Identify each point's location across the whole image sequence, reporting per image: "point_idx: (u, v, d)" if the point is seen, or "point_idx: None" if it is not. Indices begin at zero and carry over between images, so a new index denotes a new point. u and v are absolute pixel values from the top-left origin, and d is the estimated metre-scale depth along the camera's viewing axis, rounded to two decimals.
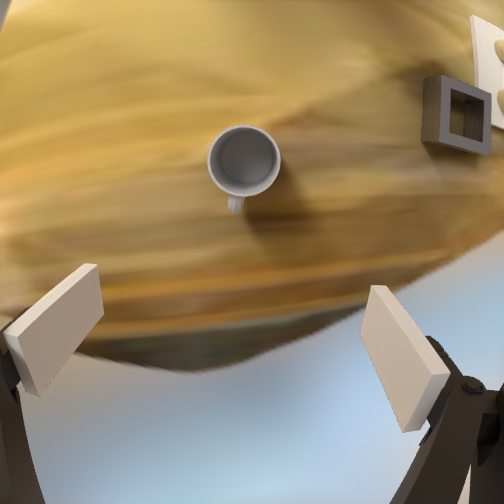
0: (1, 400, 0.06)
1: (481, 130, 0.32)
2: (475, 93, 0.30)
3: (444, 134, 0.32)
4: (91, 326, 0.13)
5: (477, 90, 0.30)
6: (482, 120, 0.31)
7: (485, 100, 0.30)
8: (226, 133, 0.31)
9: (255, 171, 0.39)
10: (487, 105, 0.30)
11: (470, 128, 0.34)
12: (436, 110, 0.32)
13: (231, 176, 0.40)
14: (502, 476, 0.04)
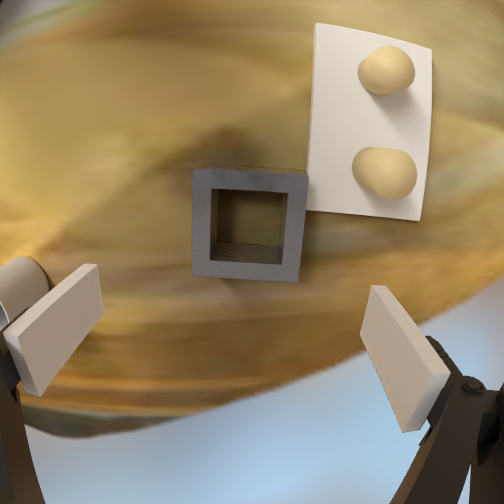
0: (1, 400, 0.06)
1: (283, 243, 0.26)
2: (267, 184, 0.24)
3: (201, 264, 0.27)
4: (91, 326, 0.13)
5: (272, 177, 0.24)
6: (284, 226, 0.26)
7: (291, 191, 0.25)
8: None
9: None
10: (295, 200, 0.25)
11: (281, 231, 0.29)
12: None
13: None
14: (502, 476, 0.04)
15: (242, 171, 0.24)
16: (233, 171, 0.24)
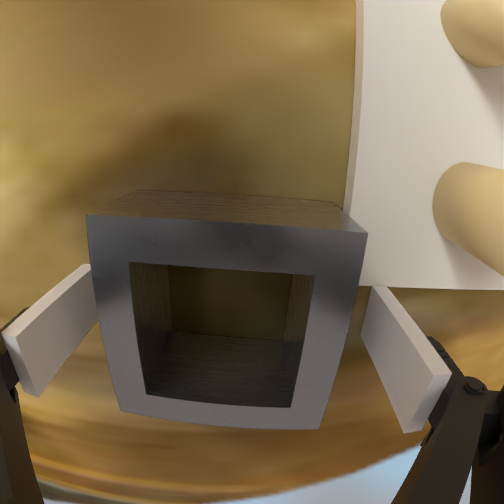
0: (0, 400, 0.06)
1: (296, 370, 0.12)
2: (264, 255, 0.10)
3: (132, 398, 0.12)
4: (90, 326, 0.13)
5: (278, 238, 0.10)
6: (301, 342, 0.11)
7: (324, 272, 0.10)
8: None
9: None
10: (330, 291, 0.10)
11: (290, 327, 0.14)
12: None
13: None
14: (503, 476, 0.04)
15: (199, 221, 0.10)
16: (177, 221, 0.09)
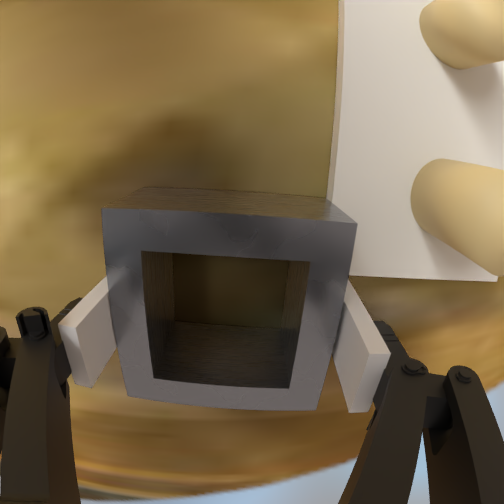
0: (49, 397, 0.06)
1: (294, 352, 0.13)
2: (264, 243, 0.11)
3: (139, 382, 0.13)
4: None
5: (277, 228, 0.11)
6: (298, 325, 0.12)
7: (318, 259, 0.11)
8: None
9: None
10: (323, 276, 0.11)
11: (287, 314, 0.15)
12: None
13: None
14: (460, 466, 0.05)
15: (207, 213, 0.11)
16: (186, 213, 0.11)
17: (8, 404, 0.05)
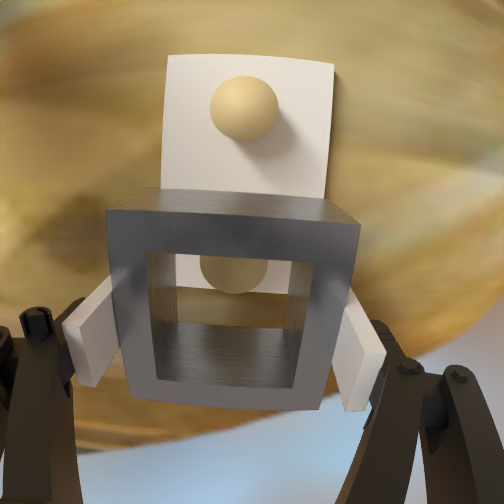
0: (52, 397, 0.06)
1: (297, 352, 0.13)
2: (269, 244, 0.11)
3: (143, 383, 0.13)
4: None
5: (281, 229, 0.11)
6: (302, 325, 0.12)
7: (322, 260, 0.11)
8: None
9: None
10: (327, 276, 0.11)
11: (290, 315, 0.16)
12: None
13: None
14: (457, 465, 0.05)
15: (212, 214, 0.11)
16: (191, 215, 0.11)
17: (11, 404, 0.05)
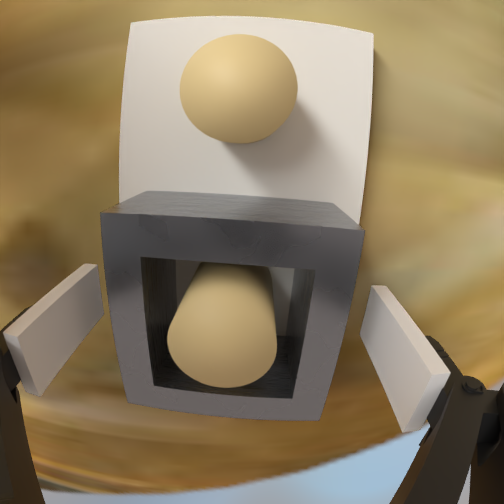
0: (1, 400, 0.06)
1: (298, 362, 0.12)
2: (267, 251, 0.10)
3: (139, 389, 0.13)
4: (91, 326, 0.13)
5: (281, 235, 0.10)
6: (303, 335, 0.12)
7: (324, 267, 0.11)
8: None
9: None
10: (329, 284, 0.11)
11: (292, 322, 0.15)
12: None
13: None
14: (502, 476, 0.04)
15: (208, 219, 0.10)
16: (187, 219, 0.10)
17: None
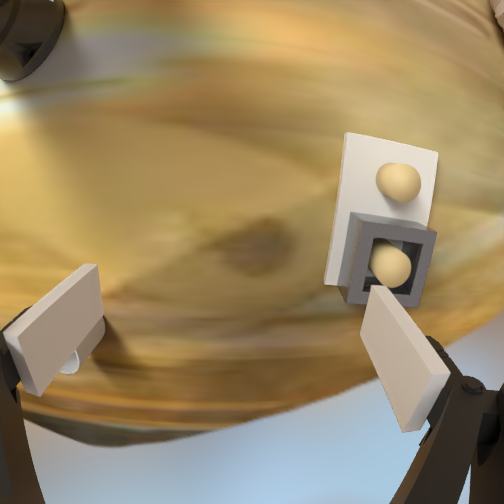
0: (1, 400, 0.06)
1: (412, 279, 0.32)
2: (411, 237, 0.31)
3: (355, 294, 0.33)
4: (91, 326, 0.13)
5: (415, 232, 0.30)
6: (415, 267, 0.32)
7: (425, 243, 0.31)
8: None
9: None
10: (426, 249, 0.31)
11: None
12: (351, 263, 0.33)
13: None
14: (502, 476, 0.04)
15: (396, 226, 0.30)
16: (390, 225, 0.30)
17: None
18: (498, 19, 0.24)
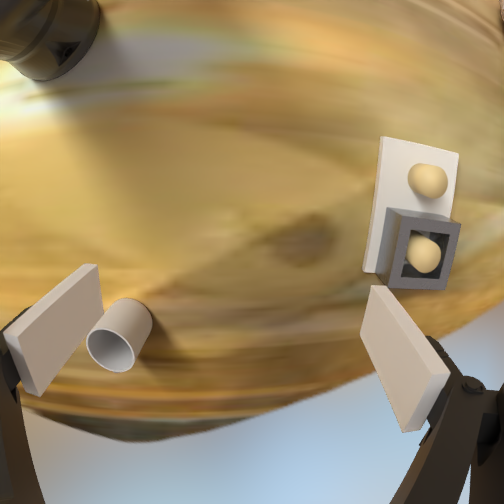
0: (1, 400, 0.06)
1: (441, 265, 0.36)
2: (440, 228, 0.34)
3: (394, 279, 0.36)
4: (91, 326, 0.13)
5: (444, 224, 0.34)
6: (443, 255, 0.35)
7: (451, 233, 0.34)
8: None
9: None
10: (452, 238, 0.34)
11: None
12: (391, 252, 0.36)
13: None
14: (502, 476, 0.04)
15: (428, 219, 0.34)
16: (424, 219, 0.34)
17: None
18: None
